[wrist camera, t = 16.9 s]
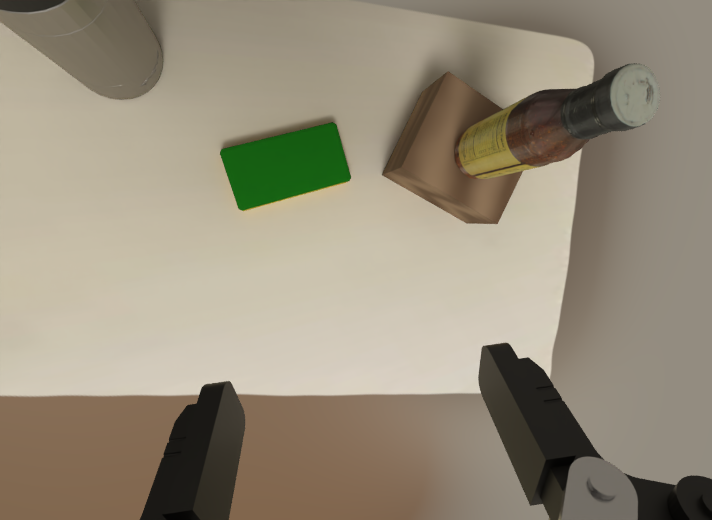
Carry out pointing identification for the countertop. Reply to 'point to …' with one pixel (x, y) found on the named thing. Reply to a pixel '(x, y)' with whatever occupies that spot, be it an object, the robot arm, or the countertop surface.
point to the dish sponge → (285, 166)
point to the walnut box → (448, 154)
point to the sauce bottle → (557, 123)
